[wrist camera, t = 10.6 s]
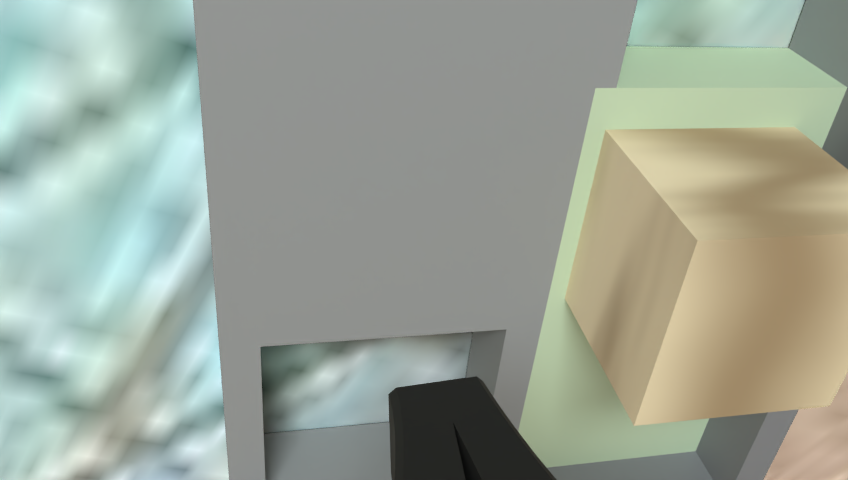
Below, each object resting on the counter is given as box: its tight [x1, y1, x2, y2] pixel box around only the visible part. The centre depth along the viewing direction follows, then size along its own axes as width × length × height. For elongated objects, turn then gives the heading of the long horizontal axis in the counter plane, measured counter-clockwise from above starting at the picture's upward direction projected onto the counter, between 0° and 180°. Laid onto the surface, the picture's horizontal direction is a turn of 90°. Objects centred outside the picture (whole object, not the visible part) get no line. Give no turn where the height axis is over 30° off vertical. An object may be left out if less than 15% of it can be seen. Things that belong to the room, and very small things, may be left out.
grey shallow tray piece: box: [193, 0, 848, 480], centre depth 20 cm, size 16×21×4 cm
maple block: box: [565, 127, 848, 426], centre depth 19 cm, size 5×5×4 cm
